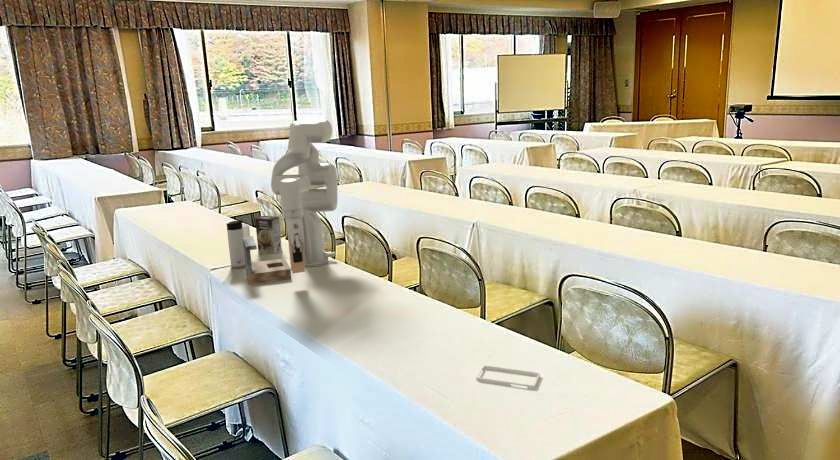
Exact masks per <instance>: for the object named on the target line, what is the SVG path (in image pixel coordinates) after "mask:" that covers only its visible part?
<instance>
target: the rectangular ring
mask: <svg viewBox="0 0 840 460" xmlns="http://www.w3.org/2000/svg"><path fill="white" fill-rule="evenodd" d="M484 370H493V371H499V372H507V373H514V374H520V375H521V374H522V375H526V376H528V375H529V376H534V377H536V379H535V382H534V384H528V383H527V384H526V383H520V382H513V381H505V380H500V379H493V378H486V377H479V376H480V374H481V373H482V371H484ZM540 377H541V374H540V373H539V372H536V371H535V372H534V371H528V370H522V369H513V368H508V367H507V368H506V367H500V366H494V365H493V366H492V365H482V366H481V368H480V370H479V372H478V373H477V375H476V376H475V380H476V381H478V382H483V383H491V384H495V385H496V384H497V385H504V386H511V385H515V386H523V387H526V388H527V389H530V390H534V389H536V388H537V387H536V386H537V385H538V382H539V380H540Z"/></svg>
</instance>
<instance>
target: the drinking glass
mask: <svg viewBox="0 0 840 460" xmlns="http://www.w3.org/2000/svg"><path fill="white" fill-rule="evenodd" d="M242 228H243V237H249V236H251V232H250V231H251V230H250V225H249V224H247V223H242Z"/></svg>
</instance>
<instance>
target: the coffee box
mask: <svg viewBox="0 0 840 460" xmlns="http://www.w3.org/2000/svg"><path fill="white" fill-rule="evenodd" d="M254 219H255V231H256V240H257V250H258V251H257V252H258V253H261V254H262V253H264V254H272V255H273V254H274V255H275V254H277V253H279V252H281V251H282V250H283V248H282V236H281V234H282V233H281V222H280V216H273V215H261V216H258V217H255V218H254Z"/></svg>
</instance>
